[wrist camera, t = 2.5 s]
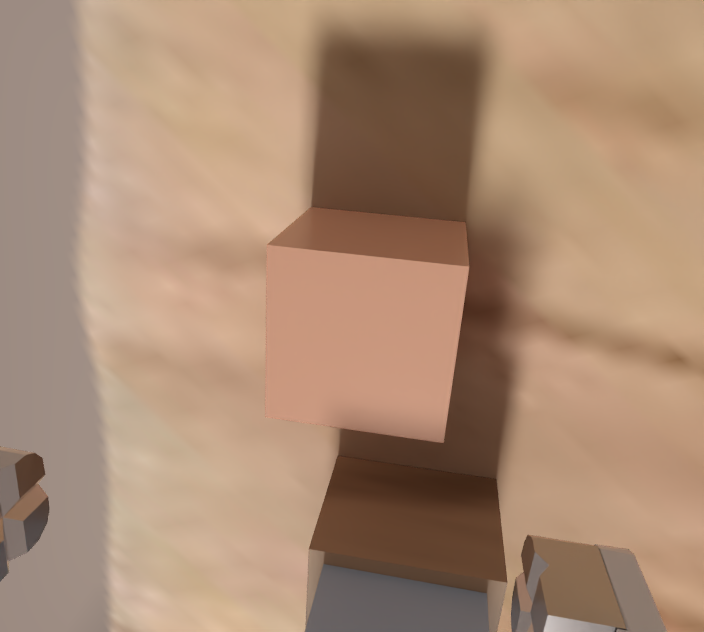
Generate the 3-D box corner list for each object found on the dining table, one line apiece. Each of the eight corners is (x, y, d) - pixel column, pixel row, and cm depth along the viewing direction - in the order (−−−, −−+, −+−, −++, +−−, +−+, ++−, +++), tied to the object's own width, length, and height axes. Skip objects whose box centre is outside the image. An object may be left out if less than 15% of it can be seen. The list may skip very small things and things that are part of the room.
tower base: (338, 454, 23) (309, 548, 18) (496, 477, 22) (507, 582, 17) (331, 572, 25) (303, 682, 20) (473, 597, 24) (478, 717, 20)
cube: (311, 206, 19) (266, 244, 15) (465, 221, 19) (469, 266, 14) (306, 344, 21) (265, 416, 16) (445, 362, 20) (443, 443, 16)
